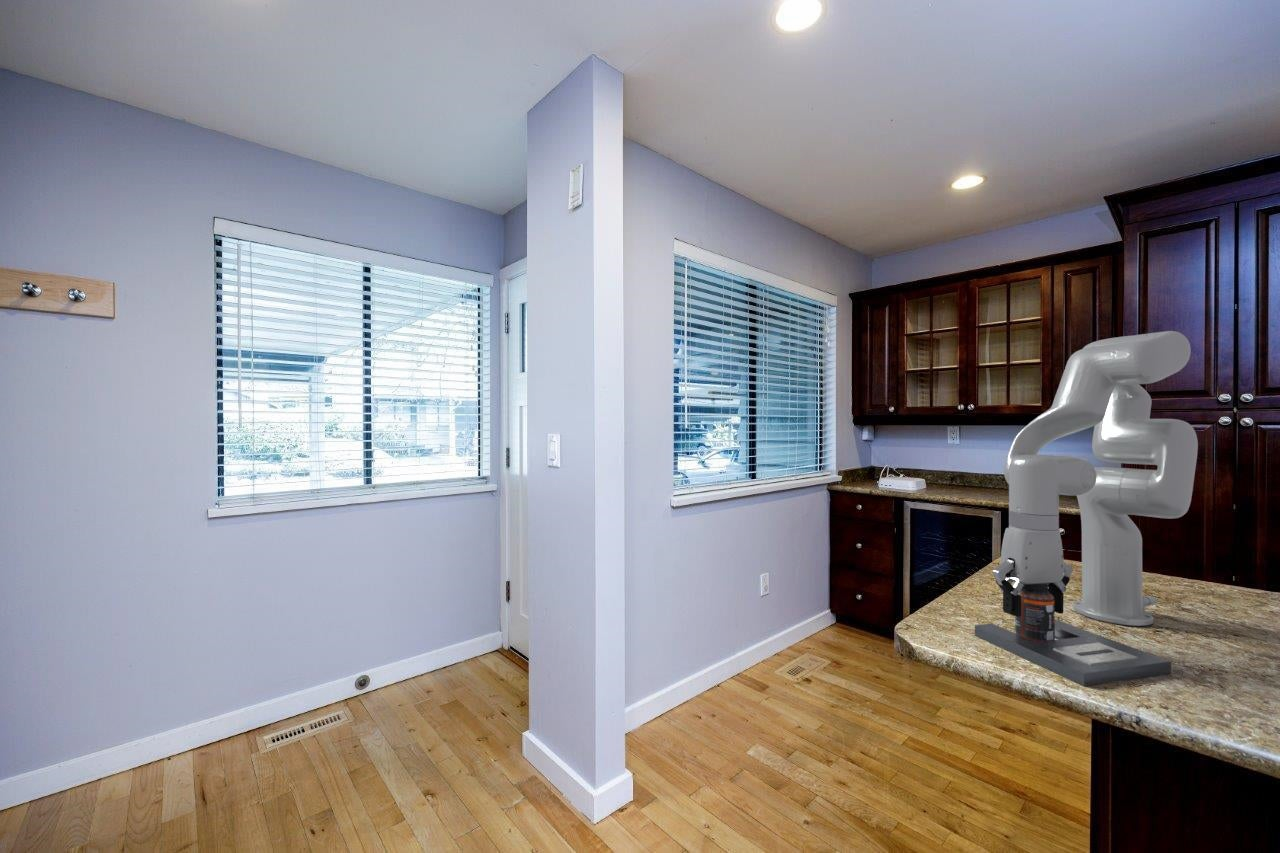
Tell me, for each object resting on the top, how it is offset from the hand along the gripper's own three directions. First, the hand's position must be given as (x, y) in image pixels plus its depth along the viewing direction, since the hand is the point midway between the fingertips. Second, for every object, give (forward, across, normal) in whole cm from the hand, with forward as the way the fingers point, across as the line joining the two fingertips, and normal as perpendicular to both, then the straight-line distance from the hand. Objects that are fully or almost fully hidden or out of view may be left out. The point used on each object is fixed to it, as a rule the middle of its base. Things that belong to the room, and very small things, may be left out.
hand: (1033, 612), depth 97 cm
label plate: (+5, -1, +5) cm, 8 cm away
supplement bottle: (+5, -1, 0) cm, 5 cm away
